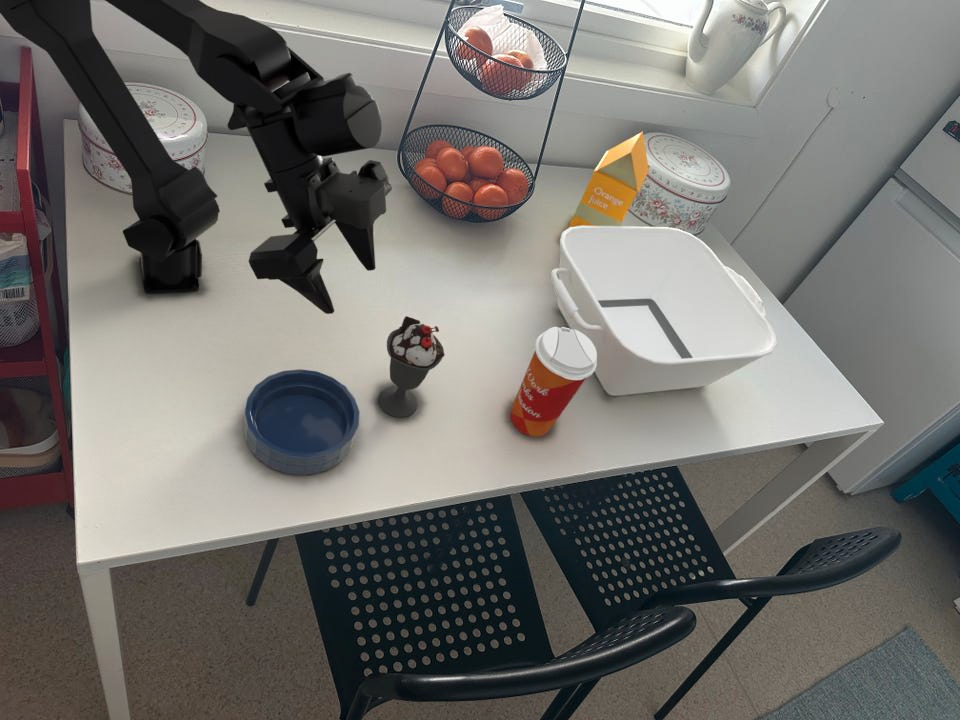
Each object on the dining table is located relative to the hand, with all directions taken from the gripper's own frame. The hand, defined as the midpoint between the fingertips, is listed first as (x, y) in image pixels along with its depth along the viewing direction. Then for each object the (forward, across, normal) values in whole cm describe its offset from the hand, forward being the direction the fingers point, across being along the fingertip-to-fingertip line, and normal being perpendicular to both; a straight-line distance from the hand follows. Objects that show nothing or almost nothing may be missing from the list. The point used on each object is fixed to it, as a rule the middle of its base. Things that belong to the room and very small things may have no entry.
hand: (351, 290), depth 81 cm
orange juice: (+22, +51, -9) cm, 56 cm away
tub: (+30, +29, -20) cm, 46 cm away
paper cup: (+25, +6, -13) cm, 29 cm away
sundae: (+16, -1, -1) cm, 16 cm away
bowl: (+11, -12, +5) cm, 17 cm away
